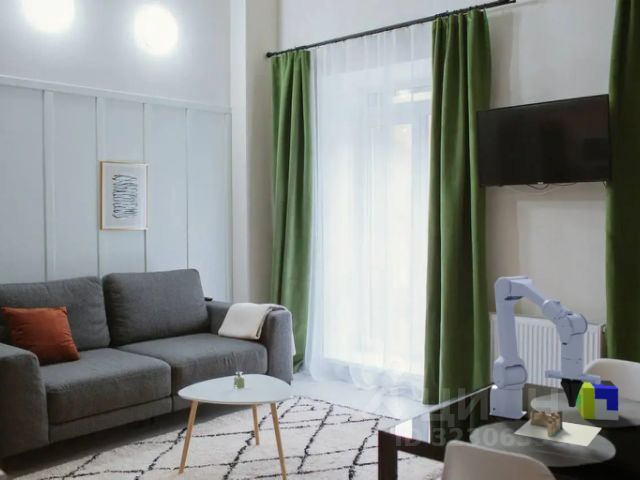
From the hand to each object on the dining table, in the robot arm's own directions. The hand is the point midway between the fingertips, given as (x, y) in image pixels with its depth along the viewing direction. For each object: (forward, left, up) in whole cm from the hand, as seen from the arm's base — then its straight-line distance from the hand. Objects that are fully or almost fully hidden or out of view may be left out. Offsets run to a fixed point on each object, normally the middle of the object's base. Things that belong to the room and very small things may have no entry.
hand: (572, 406), depth 182 cm
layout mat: (-5, +4, -9) cm, 11 cm away
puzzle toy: (+1, +26, -10) cm, 28 cm away
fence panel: (-5, +1, -9) cm, 10 cm away
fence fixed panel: (-9, +6, -9) cm, 14 cm away
